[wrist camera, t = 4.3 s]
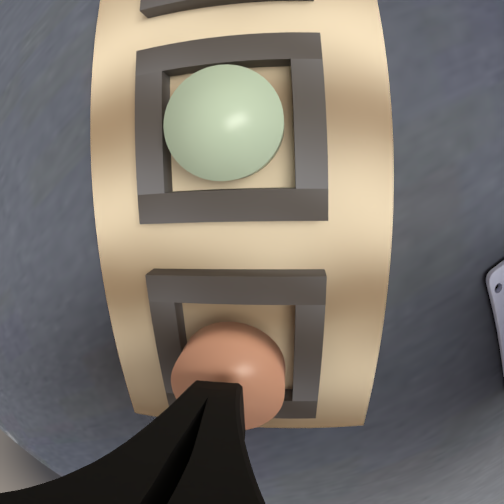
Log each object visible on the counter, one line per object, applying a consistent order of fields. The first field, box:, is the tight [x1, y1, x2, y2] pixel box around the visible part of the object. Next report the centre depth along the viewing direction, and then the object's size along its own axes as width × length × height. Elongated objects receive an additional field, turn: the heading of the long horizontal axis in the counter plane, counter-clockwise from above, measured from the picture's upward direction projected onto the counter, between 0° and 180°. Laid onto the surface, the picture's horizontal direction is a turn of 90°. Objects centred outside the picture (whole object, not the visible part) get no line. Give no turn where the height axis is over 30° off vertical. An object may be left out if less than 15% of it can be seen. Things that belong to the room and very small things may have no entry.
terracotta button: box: [171, 322, 286, 430], centre depth 10 cm, size 4×4×1 cm
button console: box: [91, 0, 394, 428], centre depth 11 cm, size 25×11×3 cm, turn 2°
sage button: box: [163, 64, 284, 181], centre depth 9 cm, size 4×4×1 cm
